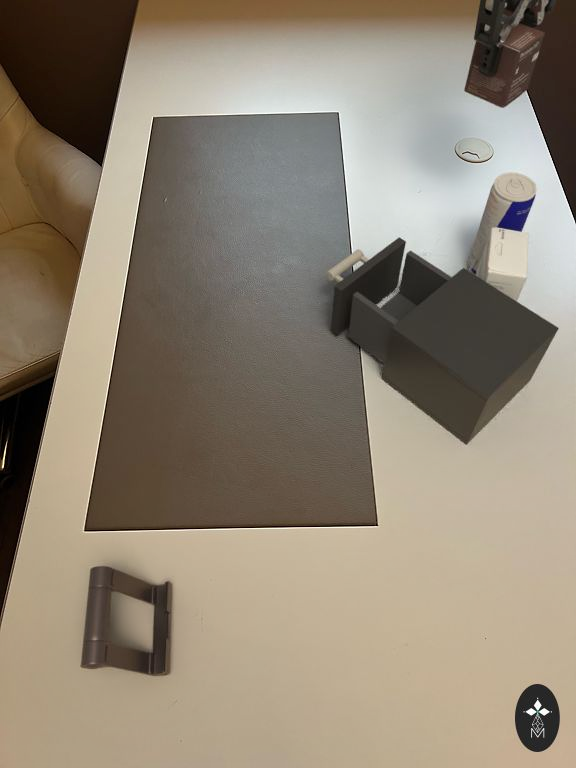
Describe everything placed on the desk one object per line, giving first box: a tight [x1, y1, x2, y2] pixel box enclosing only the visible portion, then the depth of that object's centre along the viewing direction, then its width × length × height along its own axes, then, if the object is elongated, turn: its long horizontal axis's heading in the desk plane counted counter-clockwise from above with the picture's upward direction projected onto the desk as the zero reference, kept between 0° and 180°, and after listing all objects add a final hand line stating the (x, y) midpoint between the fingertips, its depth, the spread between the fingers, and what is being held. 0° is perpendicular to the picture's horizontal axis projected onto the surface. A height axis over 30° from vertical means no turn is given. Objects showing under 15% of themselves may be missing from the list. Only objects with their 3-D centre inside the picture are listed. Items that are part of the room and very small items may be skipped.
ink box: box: [476, 227, 530, 302], centre depth 82 cm, size 9×5×12 cm, turn 167°
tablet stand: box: [80, 565, 173, 677], centre depth 60 cm, size 9×8×8 cm
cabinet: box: [381, 267, 559, 445], centre depth 76 cm, size 14×14×11 cm
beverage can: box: [466, 172, 538, 275], centre depth 86 cm, size 6×6×15 cm
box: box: [463, 22, 546, 109], centre depth 78 cm, size 6×6×7 cm
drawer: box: [325, 237, 453, 365], centre depth 81 cm, size 17×12×9 cm
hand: (503, 63), depth 78 cm, fingers closed on box, 6 cm apart
